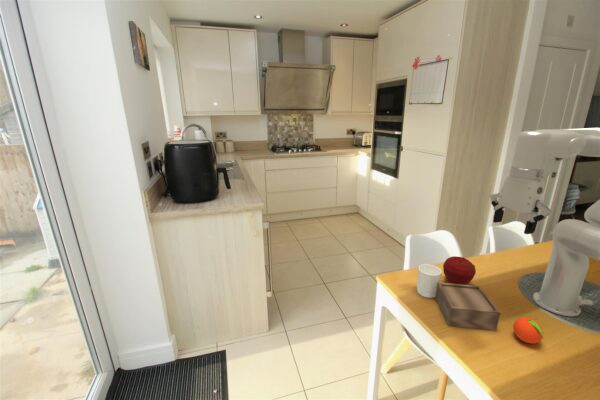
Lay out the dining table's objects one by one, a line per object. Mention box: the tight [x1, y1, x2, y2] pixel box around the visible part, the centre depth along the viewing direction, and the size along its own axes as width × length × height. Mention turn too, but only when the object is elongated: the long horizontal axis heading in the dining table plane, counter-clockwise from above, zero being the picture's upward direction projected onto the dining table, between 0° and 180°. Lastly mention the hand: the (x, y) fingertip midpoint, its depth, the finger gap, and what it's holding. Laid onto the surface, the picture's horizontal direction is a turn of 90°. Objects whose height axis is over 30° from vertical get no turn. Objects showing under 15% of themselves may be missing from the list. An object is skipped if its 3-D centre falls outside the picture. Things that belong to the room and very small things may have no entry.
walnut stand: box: [434, 282, 501, 332], centre depth 93 cm, size 14×14×7 cm
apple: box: [442, 256, 477, 285], centre depth 109 cm, size 11×11×12 cm
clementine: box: [512, 317, 544, 344], centre depth 82 cm, size 8×7×7 cm
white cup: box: [416, 263, 442, 299], centre depth 104 cm, size 8×8×10 cm
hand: (512, 227), depth 87 cm, fingers open, 9 cm apart
